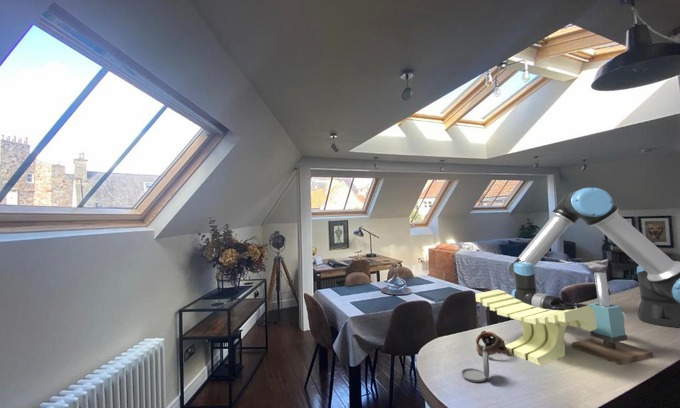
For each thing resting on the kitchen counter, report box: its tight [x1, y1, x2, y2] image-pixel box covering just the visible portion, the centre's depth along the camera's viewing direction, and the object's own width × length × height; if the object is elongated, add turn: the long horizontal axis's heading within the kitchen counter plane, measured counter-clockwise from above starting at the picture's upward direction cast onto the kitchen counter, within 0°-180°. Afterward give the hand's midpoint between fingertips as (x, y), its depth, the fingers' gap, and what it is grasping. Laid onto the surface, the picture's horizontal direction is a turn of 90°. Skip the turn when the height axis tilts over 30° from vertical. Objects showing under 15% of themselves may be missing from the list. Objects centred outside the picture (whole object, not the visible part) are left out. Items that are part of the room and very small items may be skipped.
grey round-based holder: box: [461, 343, 490, 383], centre depth 83 cm, size 8×8×10 cm
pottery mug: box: [475, 330, 510, 357], centre depth 98 cm, size 12×10×8 cm
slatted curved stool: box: [475, 289, 597, 366], centre depth 98 cm, size 30×16×18 cm, turn 25°
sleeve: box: [587, 302, 627, 338], centre depth 95 cm, size 6×6×9 cm
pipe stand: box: [571, 271, 654, 365], centre depth 95 cm, size 14×14×26 cm
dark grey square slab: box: [589, 331, 628, 343], centre depth 95 cm, size 6×6×2 cm
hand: (610, 320), depth 94 cm, fingers open, 13 cm apart
